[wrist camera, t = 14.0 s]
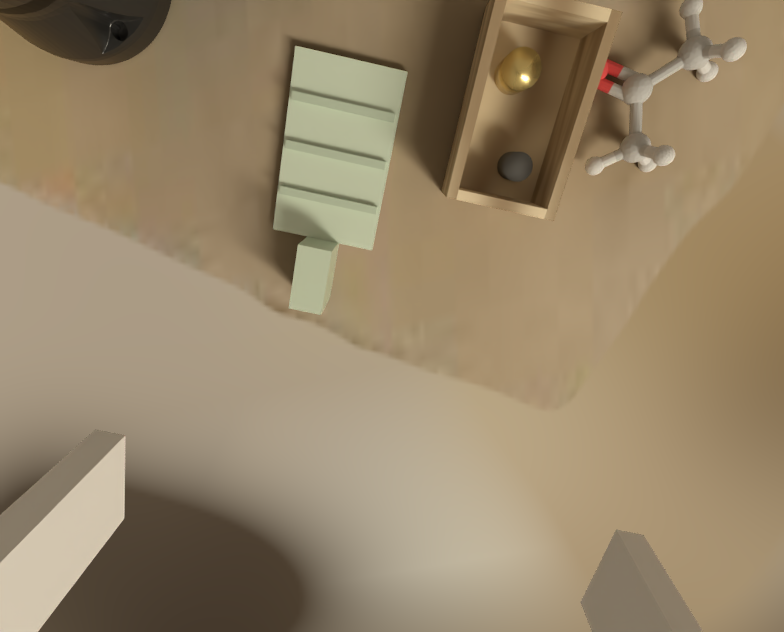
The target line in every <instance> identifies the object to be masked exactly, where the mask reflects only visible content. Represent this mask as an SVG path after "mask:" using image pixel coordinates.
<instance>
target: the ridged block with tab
mask: <svg viewBox="0 0 784 632" xmlns="http://www.w3.org/2000/svg"><path fill="white" fill-rule="evenodd" d="M407 74H408V72H407V71H403V70H398V69H394V68H390V67H385V66H381V65H377V64H373V63H368V62H364V61H360V60H355V59H351V58H347V57H343V56H338V55H334V54H330V53H325V52H321V51H317V50H312V49H308V48H304V47H300V46H295V53H294V61H293V69H292V77H291V85H290V93H289V102H288V110H287V118H286V126H285V134H284V142H283V151H282V159H281V167H280V175H279V183H278V191H277V199H276V208H275V216H274V224H273V229H275V230H279V231H284V232H289V233H293V234H298V235H303V236H307V237H306V238H305V239H304V240H302V241H301V242H300V243H299V244H298V247H297V254H296V261H295V268H294V275H293V282H292V289H291V296H290V303H289V308H290V309H295V310H299V311H304V312H309V313H314V314H319V315H321V314H322V312H323V310H324V309H325V307H326V305H327V303H328V301H329V299H330V294H331V288H332V282H333V276H334V271H335V265H336V259H337V253H338V248H339V243H340V244H344V245H349V246H354V247H358V248H363V249H368V250H372V249H373V245H374V240H375V235H376V230H377V225H378V220H379V215H380V210H381V205H382V199H383V194H384V189H385V184H386V179H387V174H388V169H389V164H390V159H391V154H392V149H393V144H394V139H395V134H396V129H397V124H398V119H399V114H400V109H401V104H402V99H403V94H404V89H405V84H406V79H407Z"/></svg>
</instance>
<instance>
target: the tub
mask: <svg viewBox="0 0 784 632" xmlns="http://www.w3.org/2000/svg"><path fill="white" fill-rule="evenodd" d="M622 13H623V12H621V11H617V10H613V9H608V8H604V7H600V6H596V5H592V4H588V3H584V2H580V1H576V0H489V2H488V4H487V6H486V8H485V12H484V16H483V20H482V24H481V29H480V33H479V37H478V41H477V45H476V49H475V53H474V58H473V62H472V66H471V70H470V74H469V78H468V82H467V87H466V91H465V95H464V99H463V103H462V107H461V111H460V116H459V120H458V124H457V128H456V132H455V136H454V140H453V145H452V149H451V153H450V157H449V161H448V165H447V170H446V174H445V178H444V182H443V186H442V190H441V191H442V193H443V194H444V195H445V196H446V197H447V198H451V199H456V200H460V201H465V202H469V203H474V204H478V205H483V206H487V207H492V208H496V209H501V210H505V211H510V212H514V213H519V214H523V215H528V216H532V217H537V218H541V219H546V220H550V221H554V218H555V215H556V212H557V209H558V206H559V203H560V200H561V197H562V194H563V191H564V188H565V185H566V182H567V179H568V176H569V173H570V170H571V167H572V164H573V161H574V158H575V155H576V152H577V149H578V146H579V143H580V140H581V137H582V134H583V131H584V128H585V125H586V121H587V118H588V115H589V112H590V109H591V106H592V103H593V100H594V97H595V94H596V91H597V88H598V85H599V82H600V79H601V76H602V73H603V70H604V67H605V64H606V61H607V58H608V55H609V52H610V49H611V46H612V43H613V40H614V37H615V34H616V31H617V28H618V25H619V22H620V19H621V16H622ZM519 47H529V48H532V49H533V50H535V51H536V52H537V53H538V55H539V57H540V59H541V64H542V69H541V74H540V76H539V78H538V80H537V81H536V83H535V84H534V85H533V86H531V87H530V88H528V89H526V90H524V91H522V92H520V93H518V94H515V95H507V94H504V93H502V92H501V91H500V90H499V89H498V88H497V86H496V84H495V79H494V75H495V70H496V68H497V66H498V64H499V63H500V62H501V61H502V60H503V59H504V58H505V57H506V56H507V55H508V54H509V53H510V52H511V51H513V50H514V49H516V48H519ZM507 152H524V153H526V154H528V155H529V156H530V157H531V159H532V162H533V169H532V172H531V174H530V175H529V176H528V177H527V178H526V179H525V180H523V181H520V182H514V181H511V180H507V179H504V178H503V177H501V176H500V174H499V173H498V169H497V164H498V161H499V159H500V157H501V156H502V155H503V154H505V153H507Z"/></svg>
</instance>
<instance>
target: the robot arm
mask: <svg viewBox="0 0 784 632" xmlns="http://www.w3.org/2000/svg"><path fill="white" fill-rule="evenodd" d="M170 4H171V0H0V20H1V21H3V22H4V23H5V24H6V25H8V26H9V27H10V28H12V29H13V30H14V31H15V32H17V33H18V34H19V35H21V36H22V37H23V38H24V39H26V40H27V41H29V42H30V43H32V44H34V45H35V46H37V47H39V48H41V49H43V50H45V51H47V52H49V53H51V54H53V55H56V56H59V57H62V58H65V59H69V60H73V61H76V62H80V63H84V64H91V65H110V64H115V63H119V62H122V61H125V60H128V59H130V58H132V57H134V56H135V55H137V54H139V53H140V52H141V51H143V50H144V49H145V48H146V47H147V46H148V45H149V44H150V43H151V42H152V41H153V40H154V38H155V37H156V36H157V34H158V33H159V31H160V29H161V28H162V26H163V24H164V22H165V19H166V17H167V14H168V11H169V8H170ZM124 494H125V435H120V434H115V433H110V432H105V431H99V430H94V431H93V432H92V433H91V434H90V435H89V436H88V437H86V438H85V439H84V440H83V441H82V442H81V443H80V444H79V445H78V446H76V447H75V448H74V449H73V450H72V451H71V452H70V453H69V454H68V455H66V456H65V457H64V458H63V459H62V460H61V461H60V462H59V463H58V464H56V465H55V466H54V467H53V468H52V469H51V470H50V471H49V472H48V473H46V474H45V475H44V476H43V477H42V478H41V479H40V480H39V481H38V482H36V484H34V485H33V486H32V487H31V488H30V489H29V490H28V491H27V492H25V493H24V494H23V495H22V496H21V497H20V498H19V499H18V500H16V501H15V502H14V503H13V504H12V505H11V506H10V507H9V508H8V509H7V510H5V511H4V512H3V513H2V514H1V515H0V632H38V631H39V629H40V628H41V627H42V625H43V624H44V623H45V621H46V620H47V619H48V617H49V616H50V615H51V614H52V612H53V611H54V610H55V608H56V607H57V605H58V604H59V603H60V602H61V600H62V599H63V598H64V596H65V595H66V594H67V593H68V591H69V590H70V589H71V587H72V586H73V585H74V583H75V582H76V581H77V580H78V578H79V577H80V575H81V574H82V573H83V572H84V570H85V569H86V568H87V566H88V565H89V564H90V563H91V561H92V560H93V558H94V557H95V556H96V555H97V553H98V552H99V551H100V549H101V548H102V547H103V546H104V544H105V543H106V541H107V540H108V539H109V537H110V536H111V535H112V533H113V532H114V531H115V530H116V528H117V527H118V526H119V524H120V523H121V522H122V520H123V519H124V502H125V500H124V499H125V495H124ZM581 604H582V607H583V609H584V612H585V615H586V617H587V620H588V623H589V625H590V628H591V630H592V632H703V631H702V629H701V627H700V626H699V624H698V623H697V621H696V619H695V618H694V616H693V614H692V613H691V611H690V610H689V608H688V606H687V605H686V603H685V602H684V600H683V598H682V597H681V595H680V593H679V592H678V590H677V589H676V587H675V585H674V584H673V582H672V580H671V579H670V577H669V576H668V574H667V572H666V571H665V569H664V567H663V566H662V564H661V563H660V561H659V559H658V558H657V556H656V555H655V553H654V551H653V550H652V548H651V546H650V545H649V543H648V542H647V540H646V538H645V537H644V535H641V534H636V533H631V532H625V531H620V530H616V531H615V533H614V535H613V537H612V539H611V541H610V544H609V546H608V548H607V550H606V552H605V554H604V556H603V558H602V560H601V562H600V564H599V566H598V568H597V570H596V572H595V574H594V576H593V578H592V580H591V582H590V584H589V586H588V588H587V590H586V593H585V595H584V596H583V598H582V601H581Z"/></svg>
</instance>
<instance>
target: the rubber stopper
mask: <svg viewBox="0 0 784 632" xmlns="http://www.w3.org/2000/svg"><path fill="white" fill-rule="evenodd" d="M497 169H498V173H499V174H500V176H501V177H503V178H504V179H507V180H511V181H514V182H520V181H523V180H525V179H526V178H527V177H528V176H529V175H530V174H531V172H532V169H533V162H532V159H531V157H530V156H529V155H528V154H526V153H524V152H507V153H505V154H503V155H502V156H501V157H500V159H499V161H498V164H497Z"/></svg>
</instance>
